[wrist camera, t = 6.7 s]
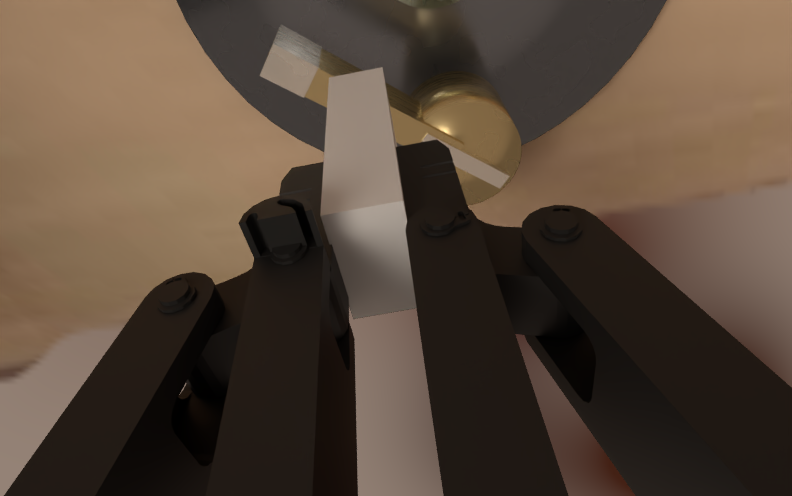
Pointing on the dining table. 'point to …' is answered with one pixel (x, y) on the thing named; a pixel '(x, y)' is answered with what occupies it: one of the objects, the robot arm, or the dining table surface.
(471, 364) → the robot arm
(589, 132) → the dining table surface
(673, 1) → the dining table surface
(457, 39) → the plate
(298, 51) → the knob
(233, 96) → the dining table surface
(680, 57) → the dining table surface
